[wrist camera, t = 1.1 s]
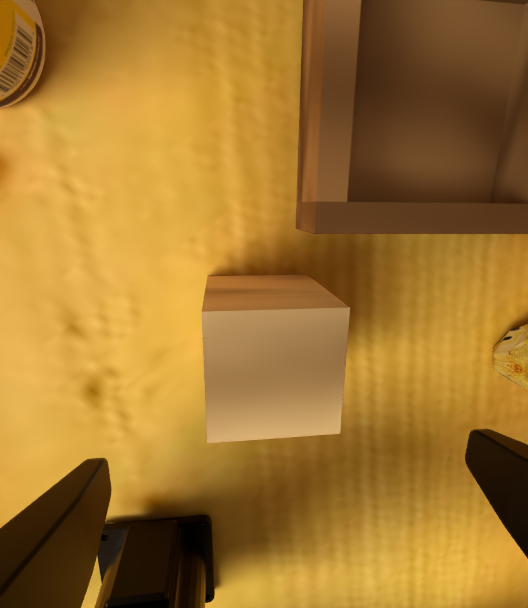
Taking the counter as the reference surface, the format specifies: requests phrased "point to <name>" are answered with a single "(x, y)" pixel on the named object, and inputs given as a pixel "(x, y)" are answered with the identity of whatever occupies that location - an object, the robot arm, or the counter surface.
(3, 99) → the supplement bottle
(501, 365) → the chocolate bunny
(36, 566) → the robot arm
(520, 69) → the bin
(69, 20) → the counter surface
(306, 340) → the cream cube
